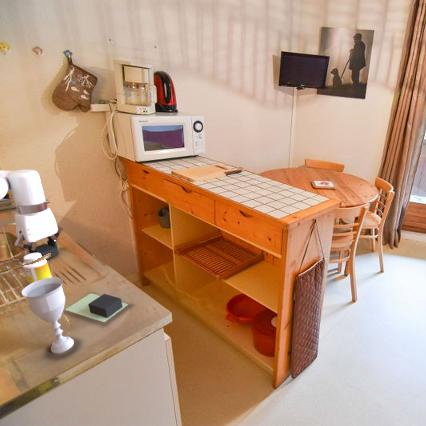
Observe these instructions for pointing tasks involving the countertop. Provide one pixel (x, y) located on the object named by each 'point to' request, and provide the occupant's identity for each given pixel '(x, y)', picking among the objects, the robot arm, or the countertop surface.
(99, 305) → the pad
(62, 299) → the chalice
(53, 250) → the loose pad
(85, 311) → the mat
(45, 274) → the supplement bottle
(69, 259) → the countertop surface
